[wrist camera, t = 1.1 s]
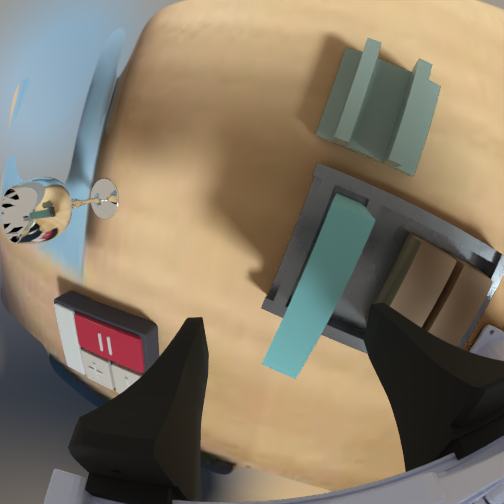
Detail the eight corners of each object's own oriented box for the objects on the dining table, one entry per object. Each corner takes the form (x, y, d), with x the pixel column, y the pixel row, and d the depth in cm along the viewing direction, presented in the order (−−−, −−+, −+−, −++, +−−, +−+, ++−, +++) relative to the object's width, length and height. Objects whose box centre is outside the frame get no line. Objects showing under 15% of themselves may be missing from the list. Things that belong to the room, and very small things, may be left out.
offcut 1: (440, 247, 20) (457, 260, 16) (395, 332, 22) (401, 358, 19) (408, 231, 20) (421, 242, 17) (365, 320, 23) (367, 344, 19)
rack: (494, 250, 19) (510, 259, 16) (430, 364, 23) (437, 383, 20) (320, 164, 22) (316, 162, 20) (268, 296, 26) (259, 310, 23)
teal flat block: (361, 202, 21) (375, 220, 12) (316, 305, 24) (295, 379, 15) (337, 192, 21) (332, 201, 12) (294, 295, 24) (261, 364, 15)
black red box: (150, 410, 31) (64, 368, 34) (165, 390, 35) (82, 354, 38) (141, 337, 28) (48, 300, 31) (162, 319, 32) (70, 289, 35)
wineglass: (85, 217, 31) (-1, 238, 20) (91, 168, 29) (0, 175, 18) (119, 231, 30) (27, 260, 18) (127, 178, 28) (28, 187, 17)
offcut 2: (473, 265, 19) (493, 281, 16) (428, 346, 22) (438, 372, 18) (447, 250, 20) (464, 265, 16) (401, 335, 22) (408, 361, 19)
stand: (437, 89, 18) (452, 74, 14) (410, 176, 20) (423, 175, 17) (346, 51, 19) (345, 30, 16) (316, 136, 22) (311, 128, 18)
